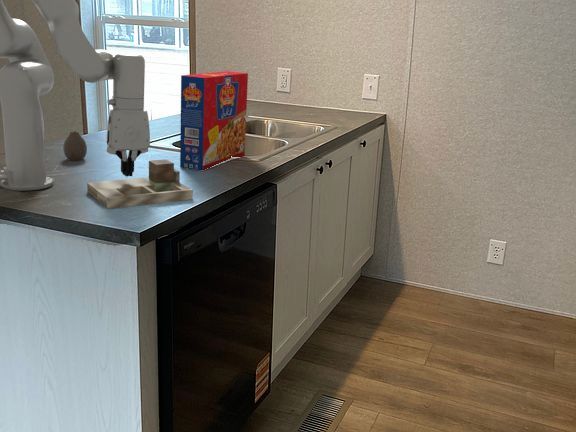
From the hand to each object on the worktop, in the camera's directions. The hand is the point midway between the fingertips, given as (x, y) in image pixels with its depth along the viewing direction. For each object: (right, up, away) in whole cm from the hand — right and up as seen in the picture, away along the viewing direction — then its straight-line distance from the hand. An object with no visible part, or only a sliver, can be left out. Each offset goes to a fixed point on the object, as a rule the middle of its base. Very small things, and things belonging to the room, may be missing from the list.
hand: (127, 175), depth 164 cm
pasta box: (+18, +7, +43) cm, 47 cm away
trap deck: (+4, -5, -1) cm, 7 cm away
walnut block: (+8, -1, +5) cm, 9 cm away
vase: (-25, +7, +33) cm, 42 cm away
